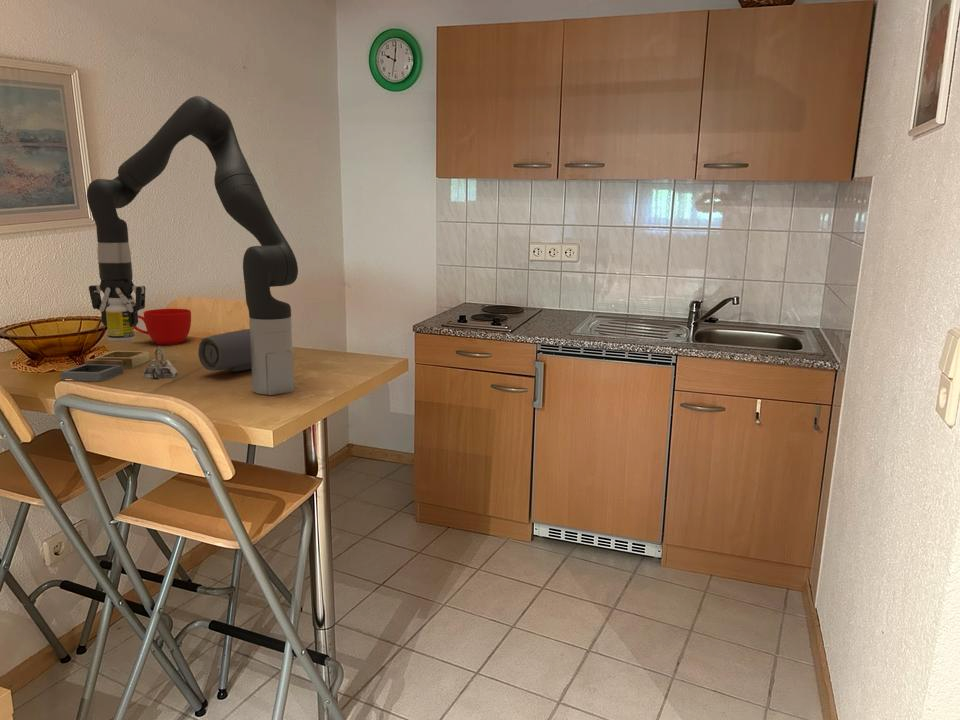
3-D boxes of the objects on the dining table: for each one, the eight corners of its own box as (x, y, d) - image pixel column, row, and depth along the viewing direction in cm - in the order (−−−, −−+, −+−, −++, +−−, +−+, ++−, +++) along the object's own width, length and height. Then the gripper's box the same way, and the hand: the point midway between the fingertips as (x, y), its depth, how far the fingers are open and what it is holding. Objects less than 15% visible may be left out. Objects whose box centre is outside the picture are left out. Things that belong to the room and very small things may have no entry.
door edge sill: (123, 369, 181) (122, 360, 180) (121, 370, 179) (120, 361, 179) (87, 369, 180) (86, 359, 180) (85, 370, 179) (84, 360, 179)
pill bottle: (127, 342, 183) (123, 298, 181) (103, 341, 183) (99, 298, 181) (139, 338, 189) (136, 296, 187) (116, 337, 189) (112, 295, 187)
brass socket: (149, 360, 192) (148, 351, 191) (132, 368, 183) (132, 358, 182) (113, 360, 192) (113, 350, 191) (95, 367, 183) (94, 357, 182)
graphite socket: (122, 373, 177) (122, 365, 177) (100, 381, 168) (99, 373, 167) (85, 371, 178) (84, 363, 177) (61, 380, 168) (60, 372, 168)
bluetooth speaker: (222, 378, 173) (220, 337, 171) (197, 373, 178) (195, 333, 176) (293, 363, 192) (292, 326, 190) (269, 358, 197) (267, 322, 195)
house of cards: (126, 383, 168) (123, 351, 166) (142, 375, 176) (140, 344, 175) (164, 384, 168) (162, 352, 166) (179, 376, 176) (177, 345, 175)
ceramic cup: (138, 341, 220) (135, 308, 218) (196, 340, 223) (194, 308, 221) (126, 349, 207) (123, 314, 205) (188, 348, 210) (185, 314, 208)
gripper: (150, 260, 185) (154, 324, 189) (96, 259, 186) (102, 323, 190) (134, 262, 178) (139, 329, 181) (78, 261, 179) (84, 327, 182)
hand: (120, 325), depth 185 cm, fingers closed on pill bottle, 6 cm apart
